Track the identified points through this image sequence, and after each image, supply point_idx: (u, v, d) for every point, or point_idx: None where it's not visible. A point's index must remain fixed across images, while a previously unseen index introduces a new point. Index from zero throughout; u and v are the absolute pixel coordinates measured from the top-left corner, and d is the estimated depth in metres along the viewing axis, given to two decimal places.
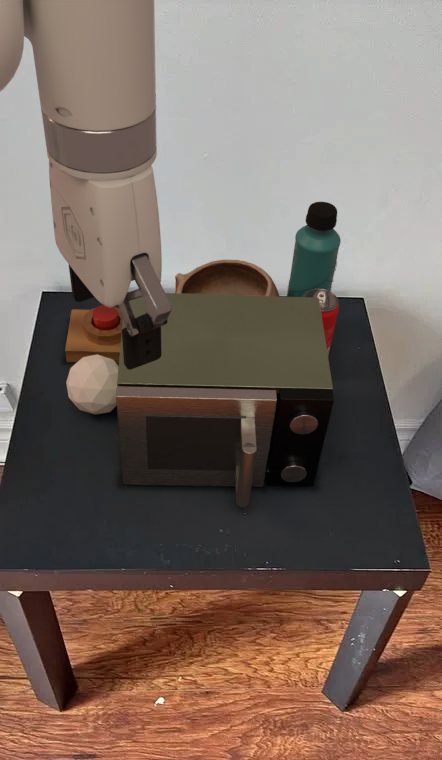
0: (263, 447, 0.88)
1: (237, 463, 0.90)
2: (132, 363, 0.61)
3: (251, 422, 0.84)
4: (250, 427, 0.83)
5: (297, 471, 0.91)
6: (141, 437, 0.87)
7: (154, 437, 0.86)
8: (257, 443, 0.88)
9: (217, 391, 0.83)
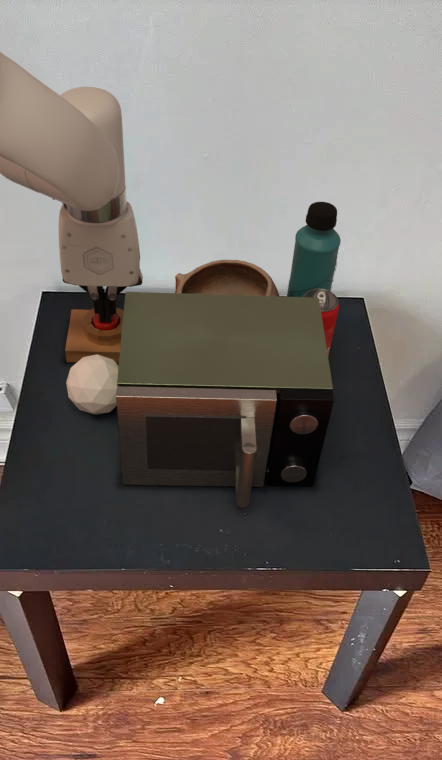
0: (263, 447, 0.88)
1: (237, 463, 0.90)
2: (111, 318, 1.05)
3: (251, 422, 0.84)
4: (250, 427, 0.83)
5: (297, 471, 0.91)
6: (141, 437, 0.87)
7: (154, 437, 0.86)
8: (257, 443, 0.88)
9: (217, 391, 0.83)
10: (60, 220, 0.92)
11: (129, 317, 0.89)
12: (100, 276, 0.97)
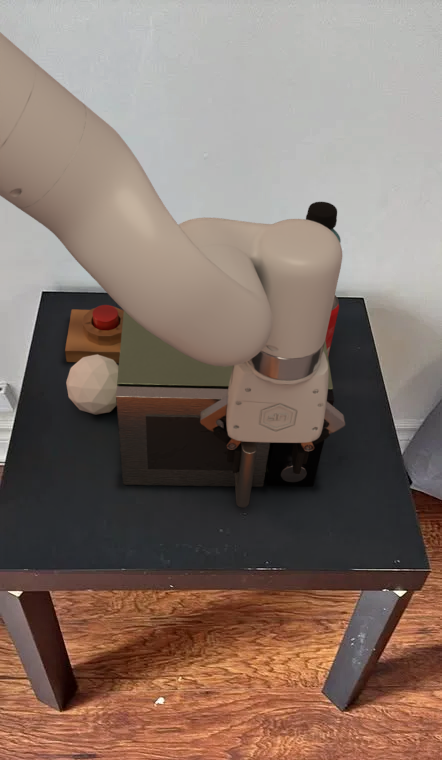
0: (263, 447, 0.88)
1: None
2: None
3: None
4: None
5: None
6: (141, 437, 0.87)
7: (154, 437, 0.86)
8: (257, 443, 0.88)
9: (217, 391, 0.83)
10: (238, 373, 0.73)
11: (129, 317, 0.89)
12: (276, 433, 0.78)
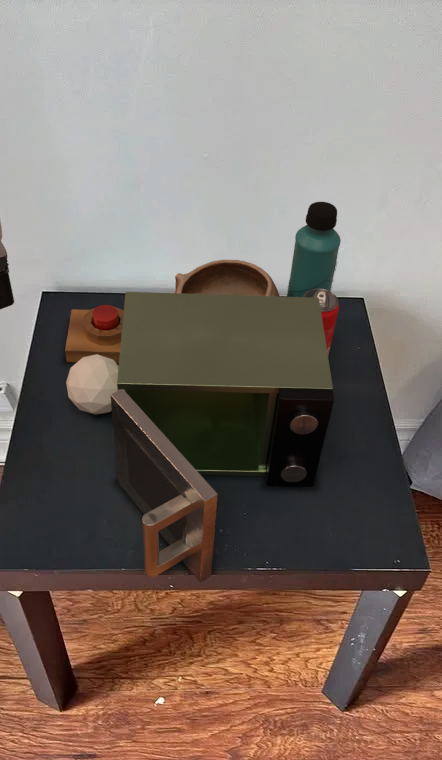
0: (198, 541, 0.80)
1: (181, 538, 0.83)
2: None
3: (182, 504, 0.76)
4: (175, 506, 0.76)
5: (297, 471, 0.91)
6: (125, 449, 0.85)
7: (131, 456, 0.84)
8: (194, 532, 0.80)
9: (176, 454, 0.77)
10: None
11: (129, 317, 0.89)
12: None
